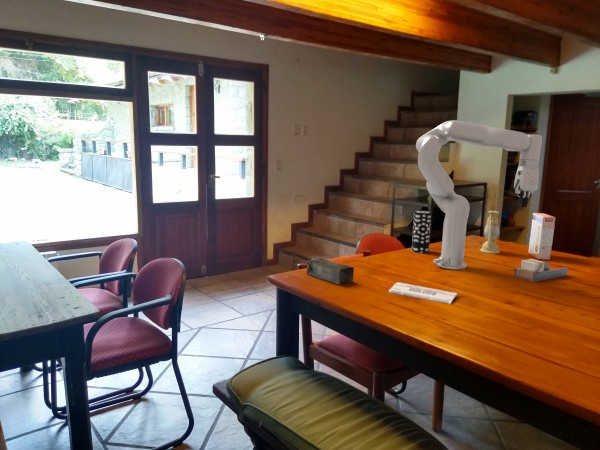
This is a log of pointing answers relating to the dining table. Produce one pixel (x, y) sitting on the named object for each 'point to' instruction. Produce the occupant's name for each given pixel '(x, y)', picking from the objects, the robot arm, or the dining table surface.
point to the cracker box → (541, 236)
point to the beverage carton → (330, 271)
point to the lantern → (491, 233)
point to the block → (532, 265)
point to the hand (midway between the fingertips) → (522, 206)
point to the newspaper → (423, 293)
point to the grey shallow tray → (541, 273)
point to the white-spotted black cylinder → (421, 231)
